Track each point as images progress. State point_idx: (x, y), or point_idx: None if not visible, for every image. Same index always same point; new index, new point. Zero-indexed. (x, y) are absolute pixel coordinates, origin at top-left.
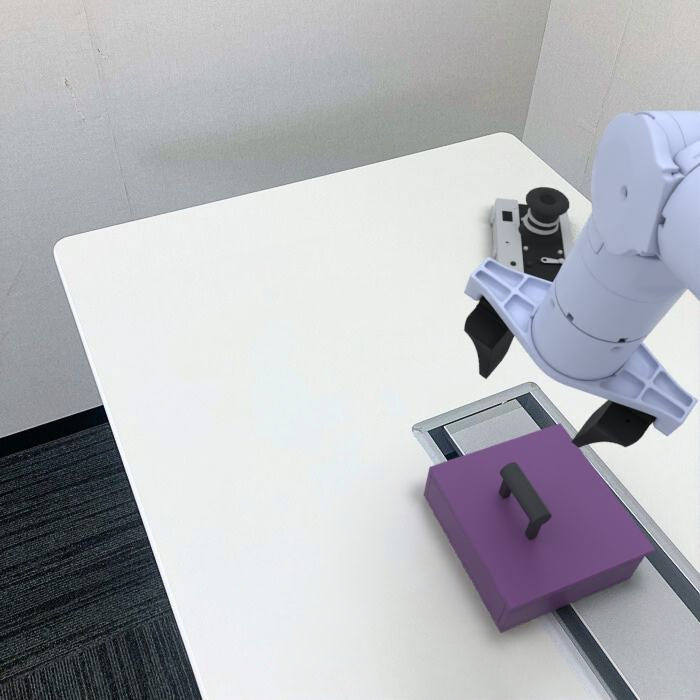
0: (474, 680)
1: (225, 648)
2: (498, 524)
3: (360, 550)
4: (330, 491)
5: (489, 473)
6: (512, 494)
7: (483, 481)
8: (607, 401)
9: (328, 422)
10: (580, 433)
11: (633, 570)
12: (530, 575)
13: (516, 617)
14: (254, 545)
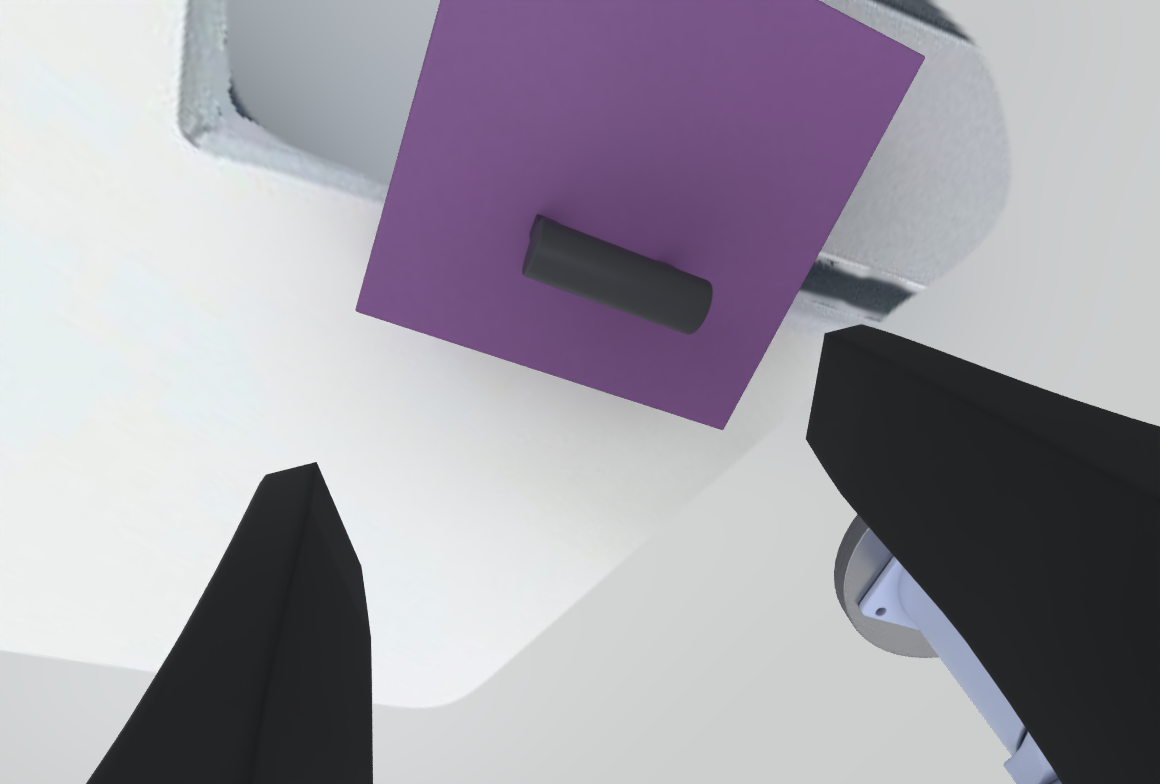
0: (704, 465)
1: (407, 677)
2: (588, 307)
3: (402, 454)
4: (248, 416)
5: (472, 205)
6: (558, 211)
7: (480, 239)
8: (1020, 458)
9: (55, 298)
10: (885, 527)
11: None
12: (714, 349)
13: None
14: None
